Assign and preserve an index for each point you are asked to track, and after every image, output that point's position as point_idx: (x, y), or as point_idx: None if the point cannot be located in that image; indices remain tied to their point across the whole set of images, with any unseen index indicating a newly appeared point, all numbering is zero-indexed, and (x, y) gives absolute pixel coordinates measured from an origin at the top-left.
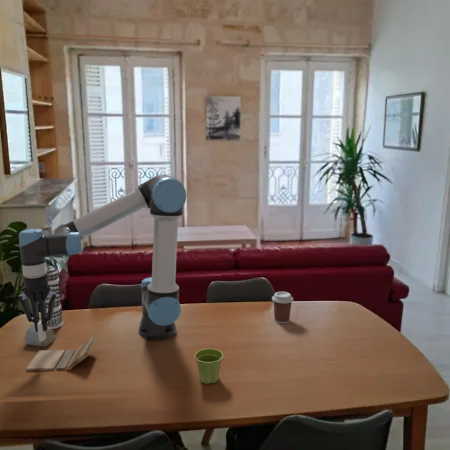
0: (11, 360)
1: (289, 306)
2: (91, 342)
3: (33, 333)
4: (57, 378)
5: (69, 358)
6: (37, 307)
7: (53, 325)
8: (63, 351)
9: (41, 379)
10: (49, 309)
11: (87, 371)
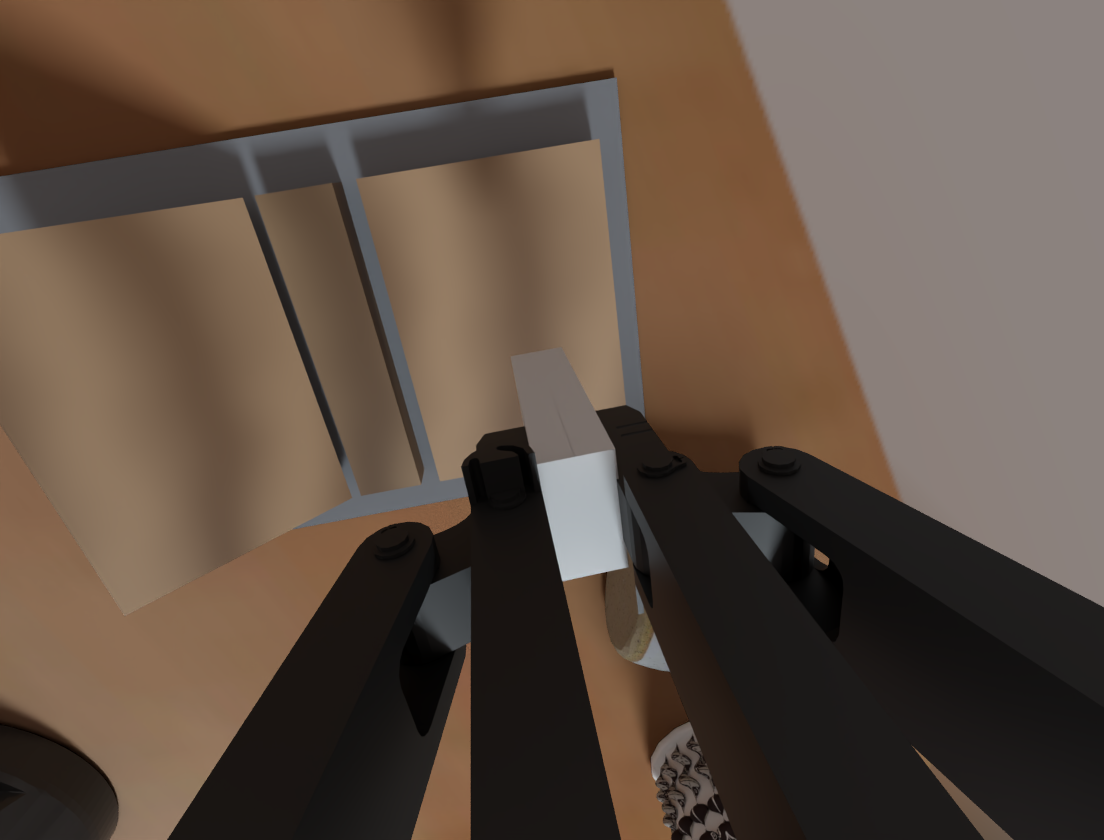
0: (793, 338)
1: None
2: (40, 484)
3: None
4: (280, 87)
5: (318, 364)
6: (746, 824)
7: (688, 744)
8: (437, 461)
9: (415, 55)
10: (263, 803)
11: None
